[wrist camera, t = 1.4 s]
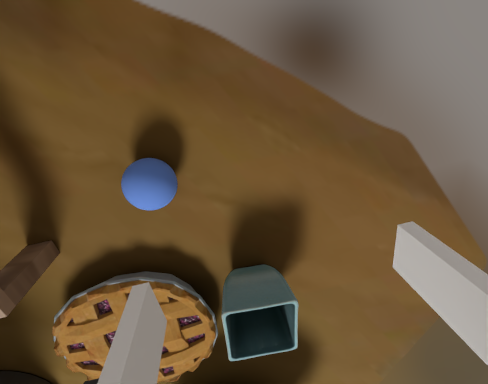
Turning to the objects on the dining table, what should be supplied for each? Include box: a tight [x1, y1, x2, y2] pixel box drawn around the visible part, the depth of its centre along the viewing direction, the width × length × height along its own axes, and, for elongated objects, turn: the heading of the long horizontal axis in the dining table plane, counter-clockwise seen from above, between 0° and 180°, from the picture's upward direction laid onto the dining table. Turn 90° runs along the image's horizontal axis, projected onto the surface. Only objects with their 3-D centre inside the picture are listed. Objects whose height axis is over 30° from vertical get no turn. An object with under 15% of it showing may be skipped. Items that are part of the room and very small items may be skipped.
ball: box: [121, 158, 177, 210], centre depth 26 cm, size 6×6×6 cm
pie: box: [52, 271, 218, 382], centre depth 36 cm, size 22×22×5 cm
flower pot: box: [222, 264, 298, 361], centre depth 33 cm, size 9×9×9 cm
